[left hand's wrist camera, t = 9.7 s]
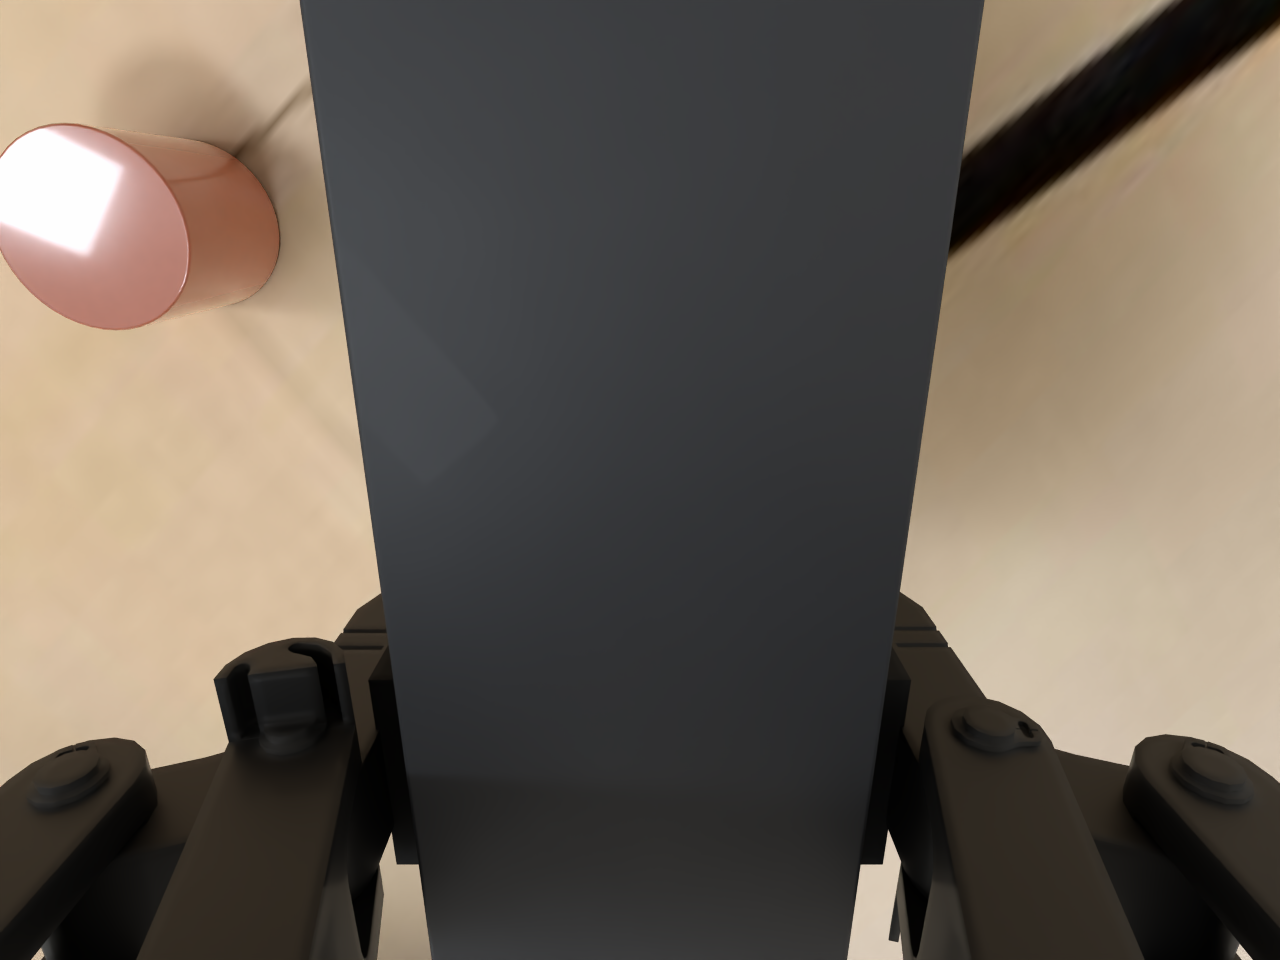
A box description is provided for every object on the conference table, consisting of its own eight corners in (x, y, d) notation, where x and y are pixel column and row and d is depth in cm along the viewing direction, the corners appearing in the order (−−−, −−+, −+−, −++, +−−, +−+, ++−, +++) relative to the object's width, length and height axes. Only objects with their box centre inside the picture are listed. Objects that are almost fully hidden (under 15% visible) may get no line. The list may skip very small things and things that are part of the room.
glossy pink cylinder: (292, 306, 24) (208, 330, 19) (140, 306, 24) (20, 330, 19) (264, 139, 22) (165, 122, 18) (101, 139, 22) (-42, 122, 18)
